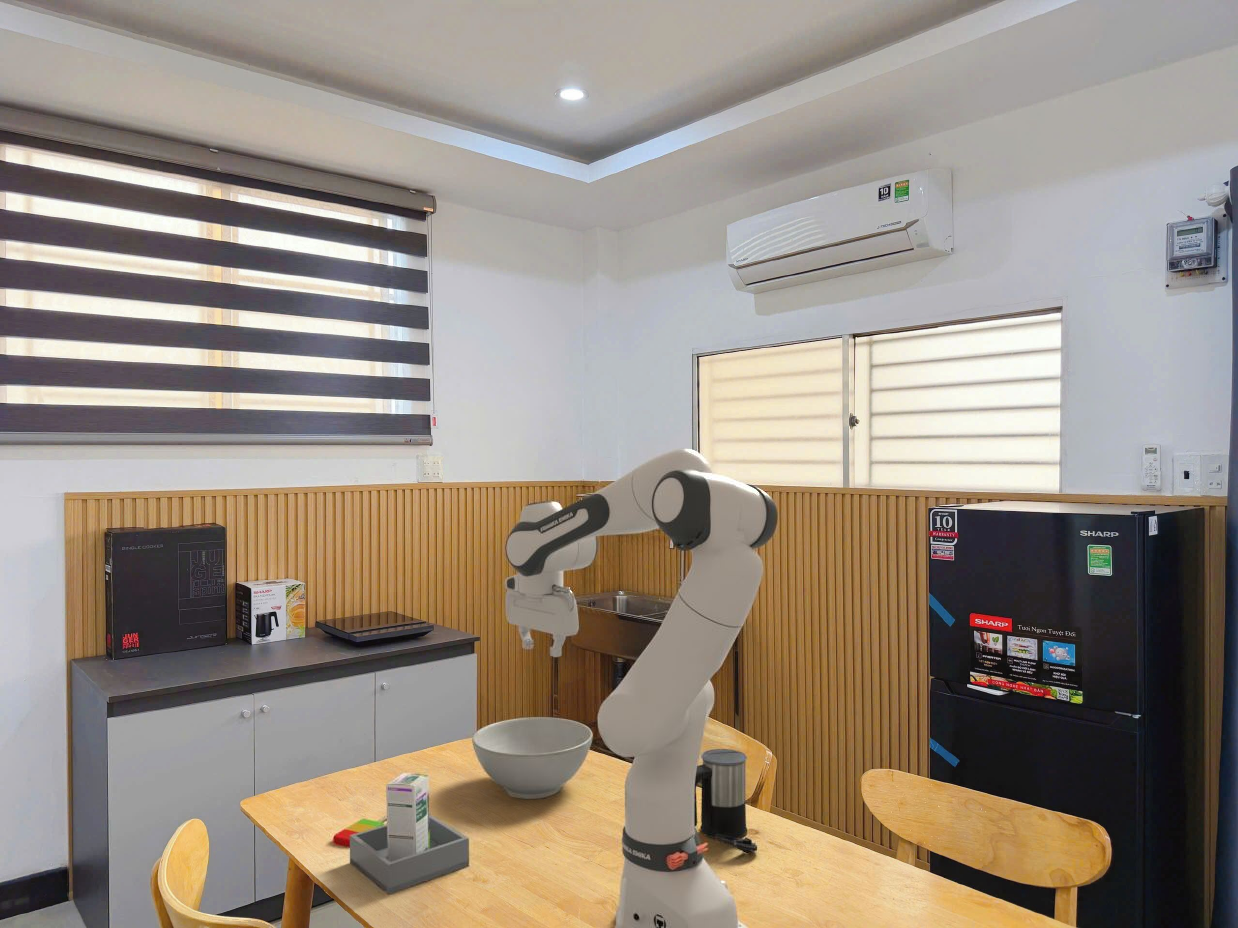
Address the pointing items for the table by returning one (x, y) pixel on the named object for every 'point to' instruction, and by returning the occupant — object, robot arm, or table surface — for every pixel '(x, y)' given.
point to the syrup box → (407, 815)
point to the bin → (409, 857)
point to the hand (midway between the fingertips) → (541, 652)
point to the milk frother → (724, 797)
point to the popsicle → (356, 830)
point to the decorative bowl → (532, 754)
